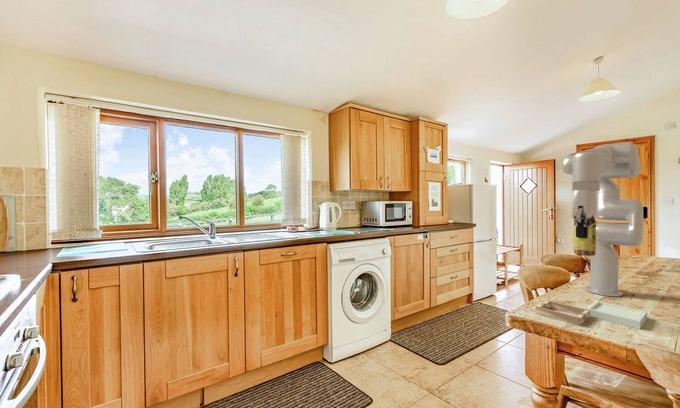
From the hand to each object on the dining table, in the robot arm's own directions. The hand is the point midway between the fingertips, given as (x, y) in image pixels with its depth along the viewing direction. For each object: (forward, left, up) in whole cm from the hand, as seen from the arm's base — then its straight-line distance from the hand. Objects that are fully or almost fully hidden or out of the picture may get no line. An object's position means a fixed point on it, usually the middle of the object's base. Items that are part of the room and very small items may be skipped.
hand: (584, 236), depth 106 cm
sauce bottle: (0, 0, -7) cm, 7 cm away
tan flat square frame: (+6, -5, -29) cm, 30 cm away
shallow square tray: (-8, +7, -29) cm, 31 cm away
